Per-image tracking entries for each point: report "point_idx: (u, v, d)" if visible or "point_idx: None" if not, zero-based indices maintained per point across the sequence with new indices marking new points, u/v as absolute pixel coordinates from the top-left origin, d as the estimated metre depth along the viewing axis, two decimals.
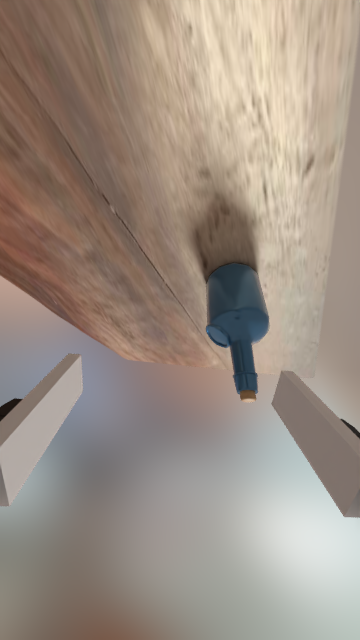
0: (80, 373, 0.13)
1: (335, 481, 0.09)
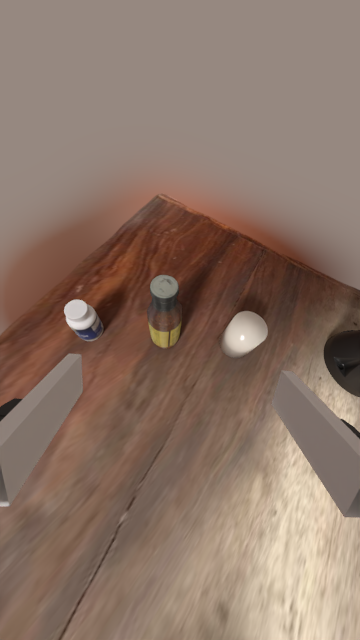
0: (80, 373, 0.13)
1: (335, 481, 0.09)
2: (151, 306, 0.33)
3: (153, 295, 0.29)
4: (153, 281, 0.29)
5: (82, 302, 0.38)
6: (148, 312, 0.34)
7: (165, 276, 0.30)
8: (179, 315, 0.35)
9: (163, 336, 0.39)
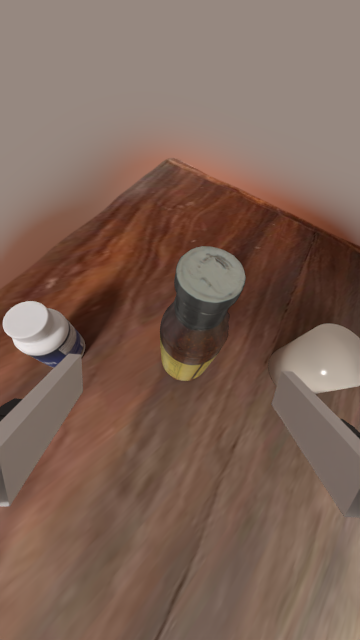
0: (80, 373, 0.13)
1: (335, 481, 0.09)
2: (171, 318, 0.16)
3: (184, 295, 0.11)
4: (183, 260, 0.12)
5: (39, 306, 0.21)
6: (164, 329, 0.17)
7: (211, 249, 0.12)
8: (226, 335, 0.17)
9: (187, 370, 0.21)
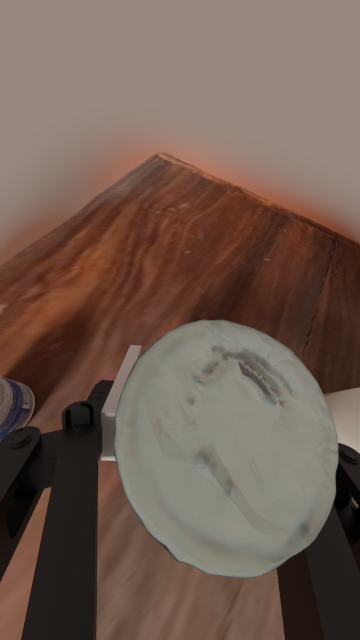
0: None
1: None
2: None
3: None
4: (142, 377, 0.04)
5: None
6: None
7: (226, 332, 0.04)
8: None
9: None
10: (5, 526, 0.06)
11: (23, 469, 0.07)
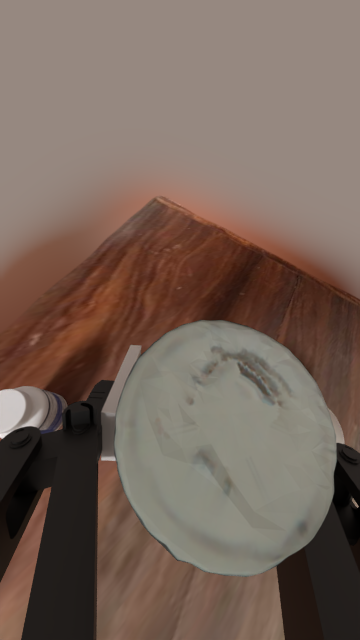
0: None
1: None
2: None
3: None
4: (142, 377, 0.04)
5: (17, 395, 0.21)
6: None
7: (225, 332, 0.04)
8: None
9: None
10: (5, 526, 0.06)
11: (23, 469, 0.07)
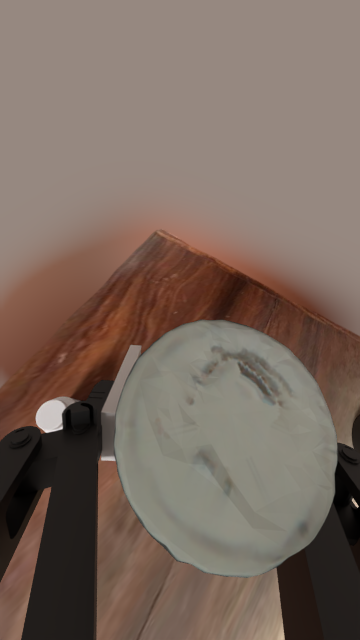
0: None
1: None
2: None
3: None
4: (142, 378, 0.04)
5: (60, 404, 0.30)
6: None
7: (226, 332, 0.04)
8: None
9: None
10: (5, 526, 0.06)
11: (23, 469, 0.07)
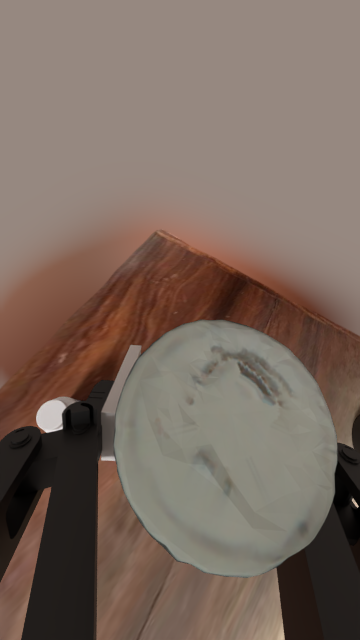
0: None
1: None
2: None
3: None
4: (142, 377, 0.04)
5: (60, 404, 0.30)
6: None
7: (226, 332, 0.04)
8: None
9: None
10: (5, 526, 0.06)
11: (23, 469, 0.07)
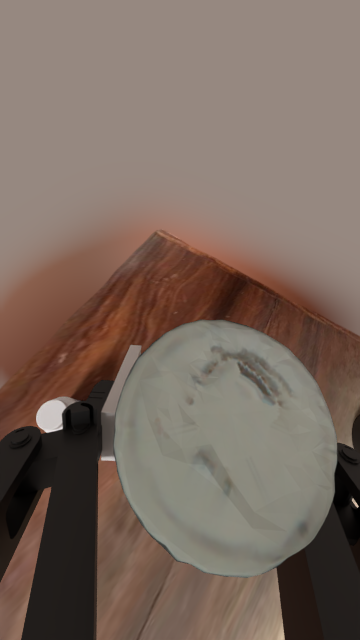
0: None
1: None
2: None
3: None
4: (142, 377, 0.04)
5: (60, 404, 0.30)
6: None
7: (225, 332, 0.04)
8: None
9: None
10: (5, 526, 0.06)
11: (23, 469, 0.07)
